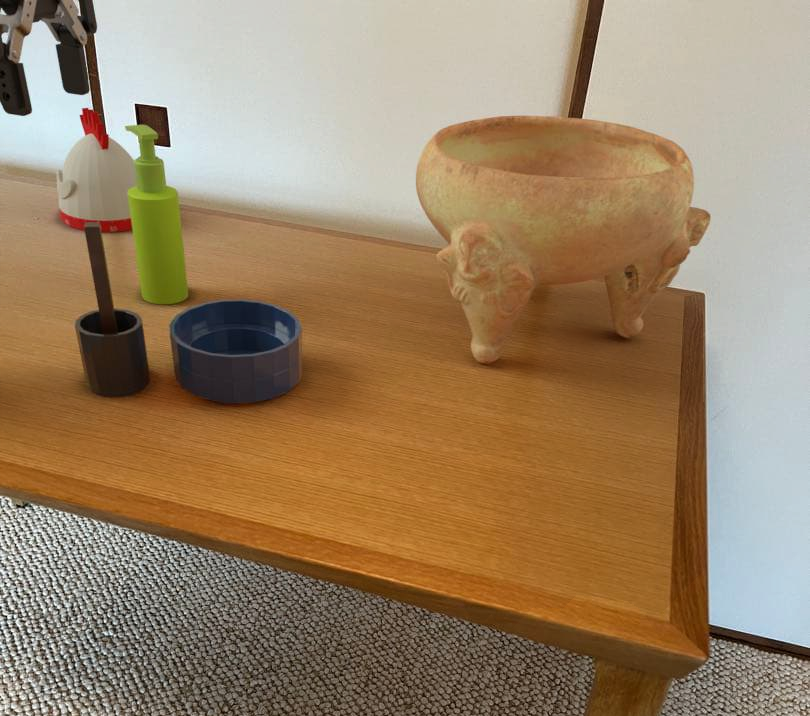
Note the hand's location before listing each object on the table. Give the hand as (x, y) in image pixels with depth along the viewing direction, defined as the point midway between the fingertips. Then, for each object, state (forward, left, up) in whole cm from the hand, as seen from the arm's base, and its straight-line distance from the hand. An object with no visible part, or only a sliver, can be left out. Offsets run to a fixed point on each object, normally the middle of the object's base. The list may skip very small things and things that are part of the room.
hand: (49, 103), depth 69 cm
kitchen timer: (-2, +55, -28) cm, 62 cm away
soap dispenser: (+6, +25, -28) cm, 38 cm away
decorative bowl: (+53, +13, -28) cm, 62 cm away
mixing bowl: (+14, +2, -28) cm, 32 cm away
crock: (+1, +2, -28) cm, 28 cm away
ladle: (+1, +2, -28) cm, 28 cm away
